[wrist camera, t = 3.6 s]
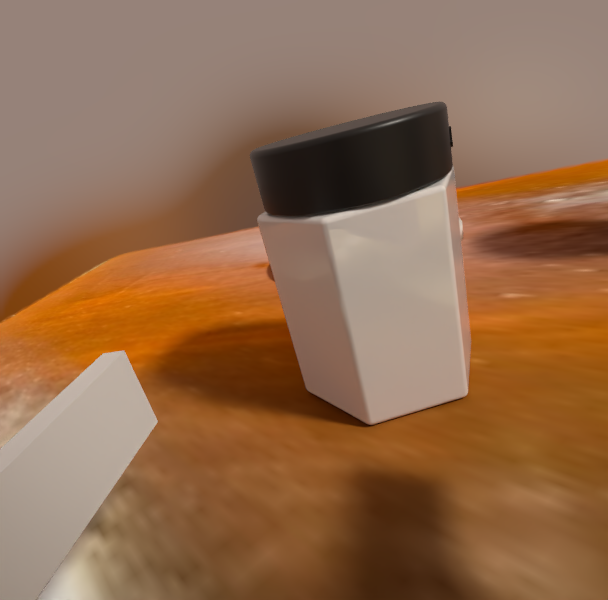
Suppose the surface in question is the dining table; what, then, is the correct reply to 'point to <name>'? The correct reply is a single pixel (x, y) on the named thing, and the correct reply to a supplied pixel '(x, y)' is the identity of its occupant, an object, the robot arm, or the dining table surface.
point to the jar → (370, 260)
